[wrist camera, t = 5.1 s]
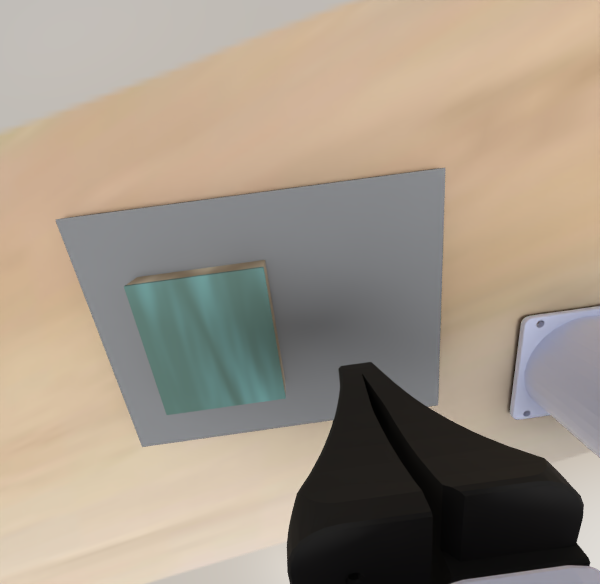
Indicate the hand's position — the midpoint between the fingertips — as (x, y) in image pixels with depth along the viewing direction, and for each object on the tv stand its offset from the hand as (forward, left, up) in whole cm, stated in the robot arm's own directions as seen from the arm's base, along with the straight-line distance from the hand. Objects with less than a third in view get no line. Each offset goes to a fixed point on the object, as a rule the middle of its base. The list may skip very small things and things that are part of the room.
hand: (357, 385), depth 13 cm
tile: (+3, 0, -6) cm, 7 cm away
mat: (+4, 0, -7) cm, 8 cm away
